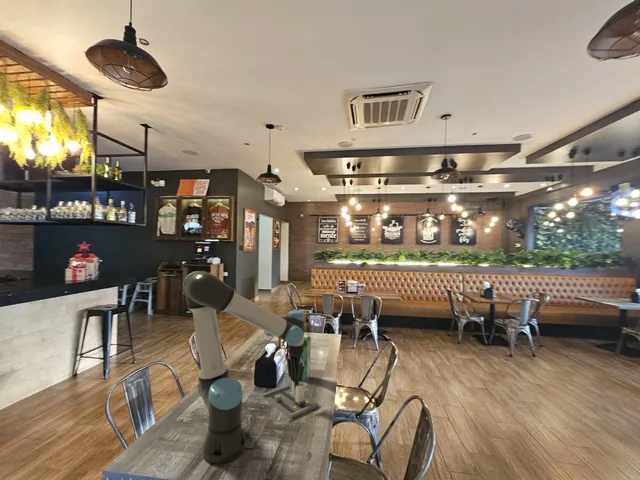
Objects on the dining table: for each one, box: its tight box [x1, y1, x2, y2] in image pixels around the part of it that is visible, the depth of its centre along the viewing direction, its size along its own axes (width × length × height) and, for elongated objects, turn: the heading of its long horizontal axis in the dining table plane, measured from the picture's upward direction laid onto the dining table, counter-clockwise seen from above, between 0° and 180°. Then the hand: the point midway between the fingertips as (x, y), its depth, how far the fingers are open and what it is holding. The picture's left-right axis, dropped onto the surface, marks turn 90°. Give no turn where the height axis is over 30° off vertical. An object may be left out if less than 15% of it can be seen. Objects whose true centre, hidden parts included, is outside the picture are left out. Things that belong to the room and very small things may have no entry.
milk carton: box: [289, 333, 312, 382], centre depth 166 cm, size 9×9×25 cm
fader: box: [293, 383, 306, 406], centre depth 137 cm, size 4×5×8 cm
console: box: [261, 384, 320, 423], centre depth 139 cm, size 16×24×4 cm, turn 41°
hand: (294, 393), depth 140 cm, fingers closed
